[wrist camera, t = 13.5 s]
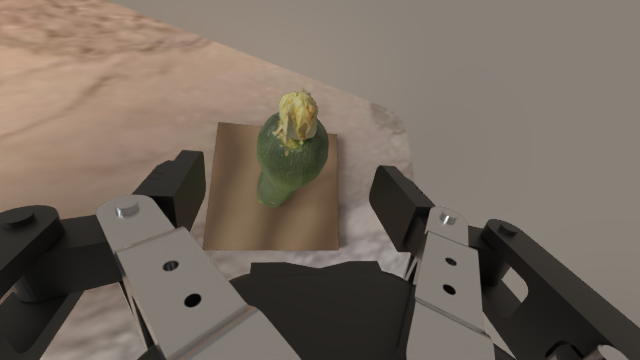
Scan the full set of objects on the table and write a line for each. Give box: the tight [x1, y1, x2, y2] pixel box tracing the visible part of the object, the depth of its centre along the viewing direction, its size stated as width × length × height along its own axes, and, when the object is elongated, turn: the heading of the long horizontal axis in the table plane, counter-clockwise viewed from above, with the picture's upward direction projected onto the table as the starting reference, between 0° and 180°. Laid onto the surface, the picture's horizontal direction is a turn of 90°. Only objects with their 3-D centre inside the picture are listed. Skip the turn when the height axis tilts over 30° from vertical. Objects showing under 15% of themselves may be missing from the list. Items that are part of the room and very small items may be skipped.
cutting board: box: [203, 122, 339, 250], centre depth 29 cm, size 14×14×2 cm
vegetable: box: [256, 89, 329, 208], centre depth 19 cm, size 4×4×20 cm
